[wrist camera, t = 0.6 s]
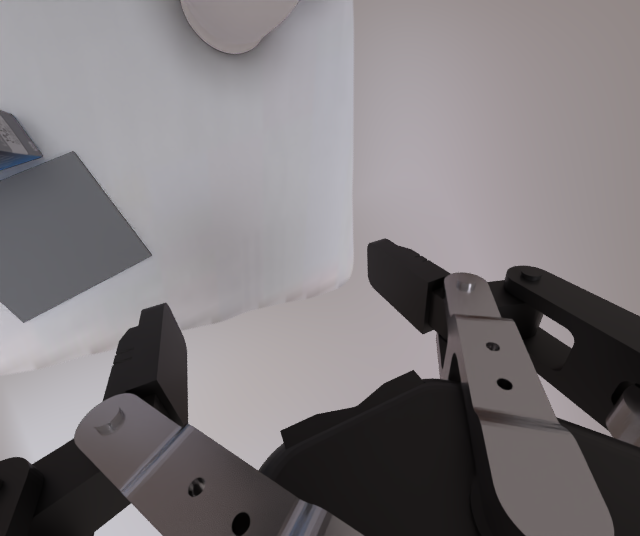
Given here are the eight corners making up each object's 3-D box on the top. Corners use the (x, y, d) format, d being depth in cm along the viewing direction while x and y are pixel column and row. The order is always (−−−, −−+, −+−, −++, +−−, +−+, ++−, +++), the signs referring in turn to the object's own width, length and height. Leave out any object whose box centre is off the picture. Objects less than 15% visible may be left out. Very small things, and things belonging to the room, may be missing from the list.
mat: (-88, 217, 24) (-92, 217, 24) (74, 151, 27) (72, 151, 27) (25, 321, 29) (23, 322, 28) (151, 255, 32) (151, 255, 32)
